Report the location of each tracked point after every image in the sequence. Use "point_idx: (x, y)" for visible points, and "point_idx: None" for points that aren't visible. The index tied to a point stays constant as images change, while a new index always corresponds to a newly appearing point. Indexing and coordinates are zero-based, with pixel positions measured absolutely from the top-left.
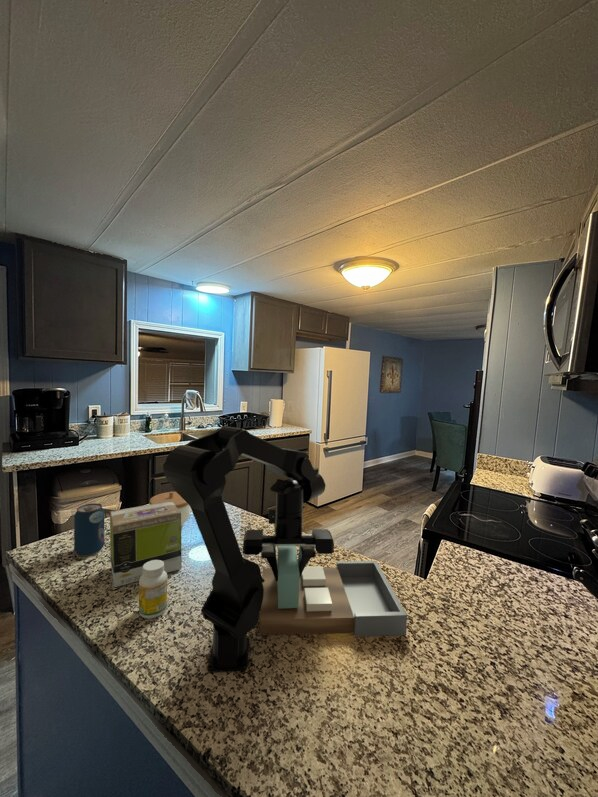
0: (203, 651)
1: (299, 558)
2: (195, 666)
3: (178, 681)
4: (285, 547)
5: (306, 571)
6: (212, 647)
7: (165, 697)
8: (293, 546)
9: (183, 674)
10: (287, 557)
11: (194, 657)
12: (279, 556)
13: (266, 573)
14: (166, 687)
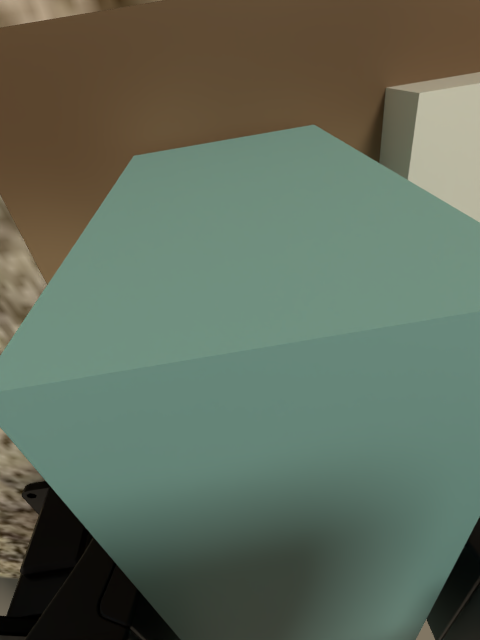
0: (16, 504)
1: (455, 610)
2: (29, 529)
3: (18, 552)
4: (263, 493)
5: (451, 192)
6: (37, 510)
7: (19, 570)
8: (470, 442)
9: (16, 543)
10: (305, 628)
11: (5, 517)
12: (196, 636)
13: (24, 155)
14: (3, 561)
